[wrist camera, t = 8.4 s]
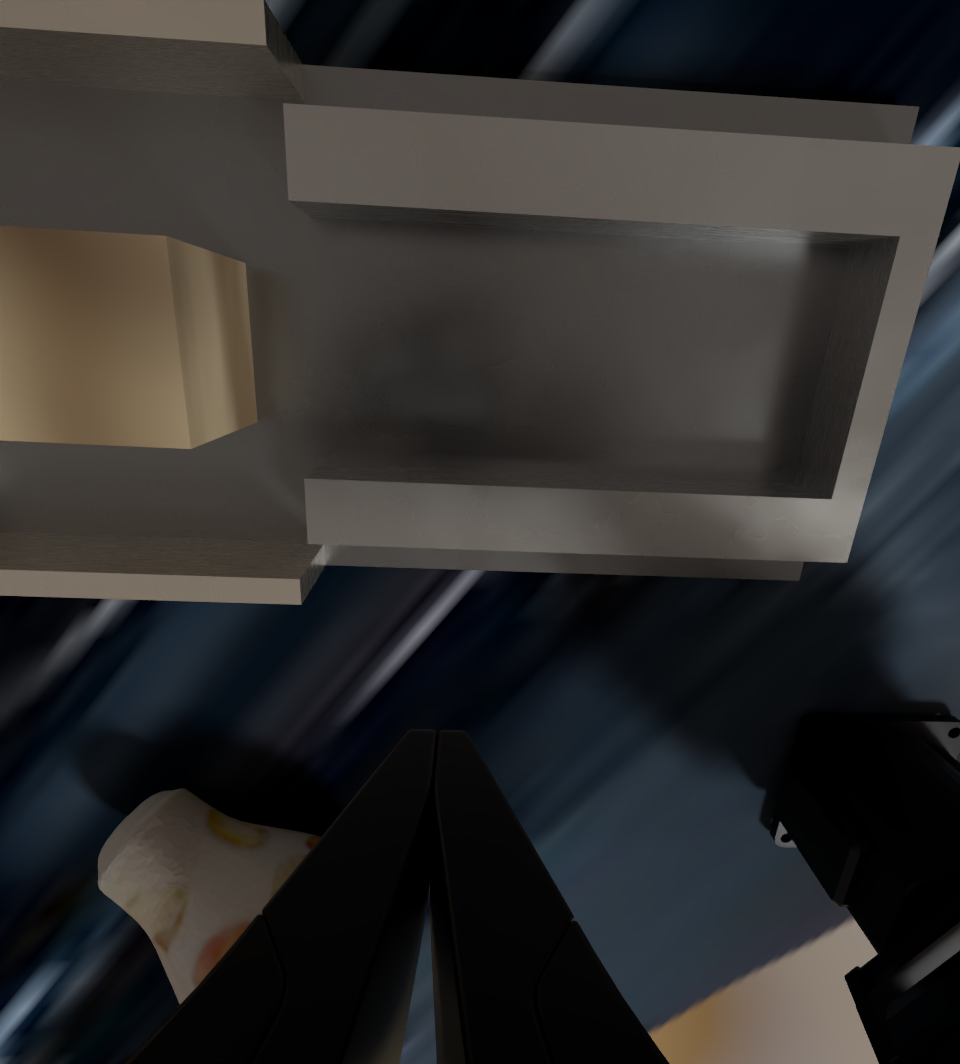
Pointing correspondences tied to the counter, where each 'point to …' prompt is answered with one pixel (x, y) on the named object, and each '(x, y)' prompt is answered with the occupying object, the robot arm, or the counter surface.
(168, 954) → the cream ceramic pitcher
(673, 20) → the counter surface
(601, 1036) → the robot arm
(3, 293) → the chip
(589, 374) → the rail board
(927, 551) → the counter surface
